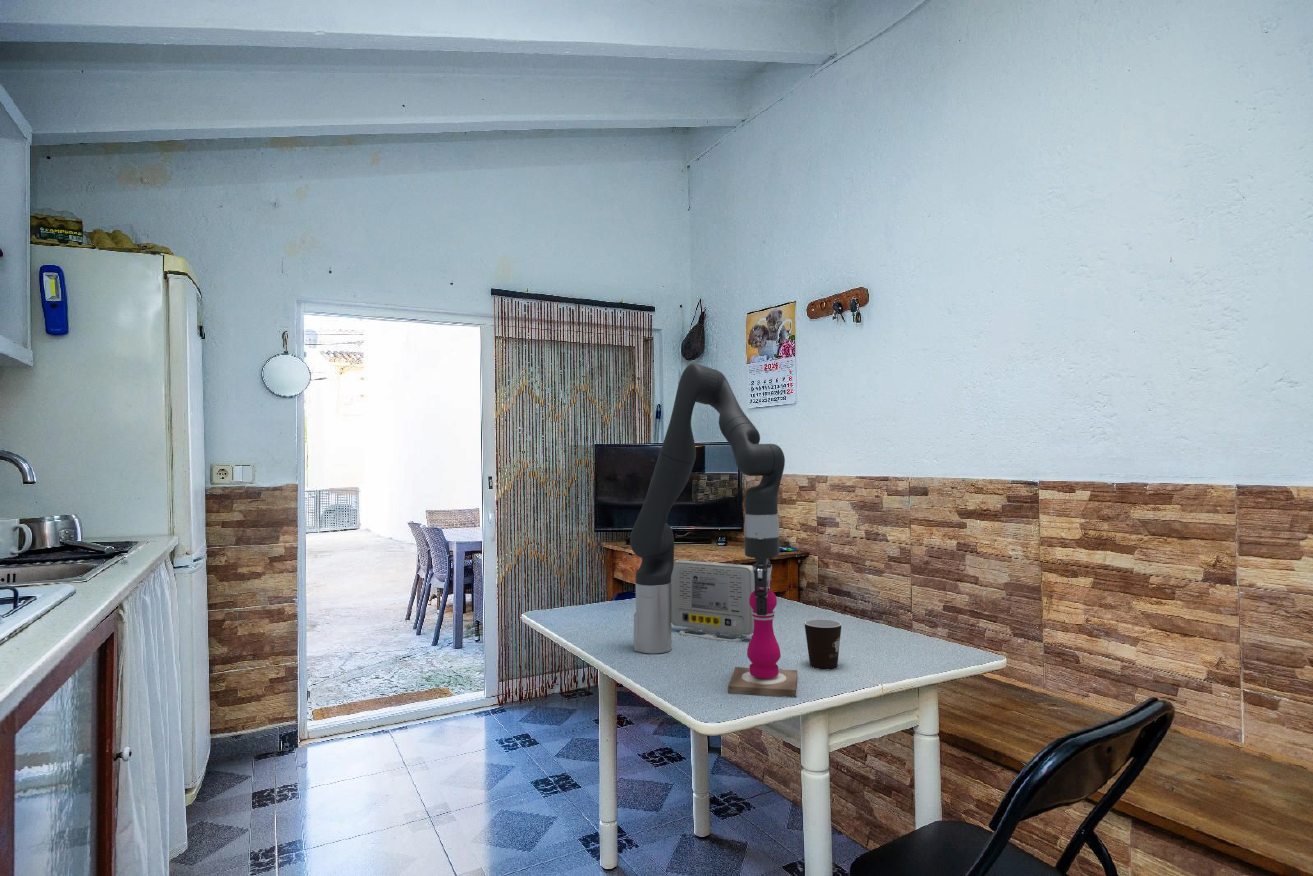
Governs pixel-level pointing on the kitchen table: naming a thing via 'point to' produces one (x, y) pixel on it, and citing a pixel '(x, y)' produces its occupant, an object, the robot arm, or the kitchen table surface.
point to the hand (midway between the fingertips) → (762, 611)
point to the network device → (712, 599)
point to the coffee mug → (823, 642)
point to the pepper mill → (763, 640)
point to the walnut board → (763, 683)
